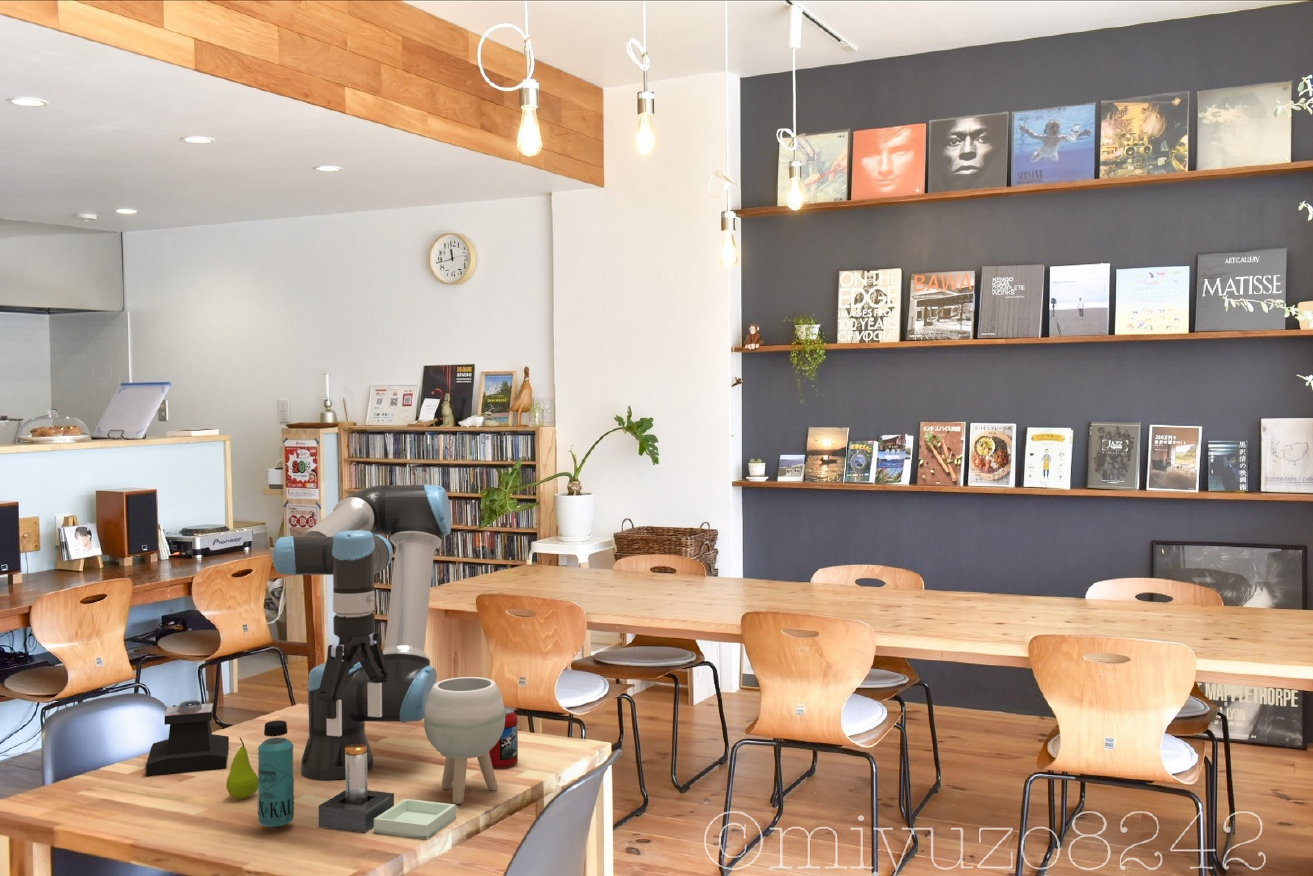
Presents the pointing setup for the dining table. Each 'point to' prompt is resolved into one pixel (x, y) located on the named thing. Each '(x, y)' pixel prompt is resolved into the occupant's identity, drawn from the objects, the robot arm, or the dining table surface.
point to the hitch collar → (354, 812)
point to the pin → (356, 774)
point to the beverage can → (506, 743)
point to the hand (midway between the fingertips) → (355, 725)
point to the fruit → (241, 776)
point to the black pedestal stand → (188, 742)
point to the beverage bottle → (275, 777)
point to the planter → (464, 727)
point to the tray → (415, 819)
